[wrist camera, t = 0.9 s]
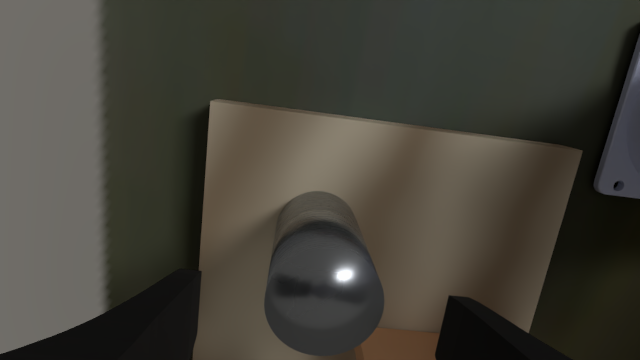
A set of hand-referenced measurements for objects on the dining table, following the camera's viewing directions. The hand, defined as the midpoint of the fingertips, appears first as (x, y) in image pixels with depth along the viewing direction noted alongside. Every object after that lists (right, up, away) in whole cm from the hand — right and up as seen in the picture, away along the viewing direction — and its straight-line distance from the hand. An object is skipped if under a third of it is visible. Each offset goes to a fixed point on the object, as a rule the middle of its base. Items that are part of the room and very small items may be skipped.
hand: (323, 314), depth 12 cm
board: (+2, -4, +10) cm, 11 cm away
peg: (0, +2, +6) cm, 7 cm away
